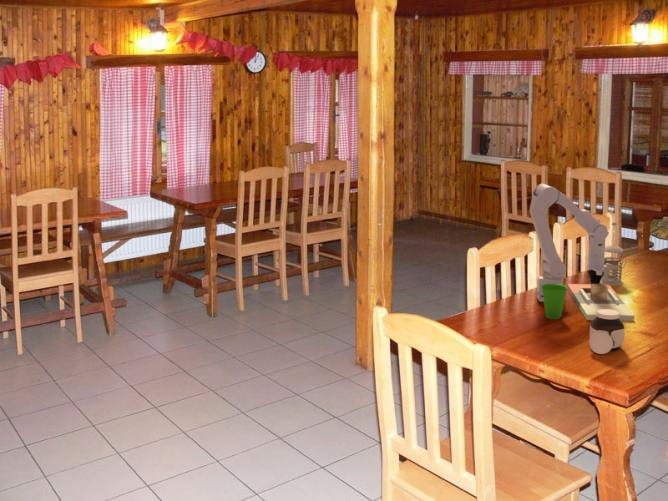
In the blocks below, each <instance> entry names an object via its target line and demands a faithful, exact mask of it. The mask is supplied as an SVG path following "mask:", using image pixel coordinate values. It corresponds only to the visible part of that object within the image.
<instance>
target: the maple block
mask: <svg viewBox="0 0 668 501" xmlns="http://www.w3.org/2000/svg"><path fill="white" fill-rule="evenodd" d="M590 284H591V283H590ZM607 293H608V287H607V286H606V285H605V284H601V283H600V284H591V298H592V300H600V301H607Z"/></svg>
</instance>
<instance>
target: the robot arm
mask: <svg viewBox="0 0 668 501" xmlns="http://www.w3.org/2000/svg"><path fill="white" fill-rule="evenodd" d="M553 204H558V205H561V206H562V208H564V209H565V210H567V211H568V212H569V213H570V214H571V215H572V216H573V217H574V222H575V223H576V224H578V225H579V226H580V227H581V228H582V229H584V230H585V231H586V232H587V235H588V236H589V242H588V243H589V244H588V259H587V260H588V261H587V268H588V270H586V271H587V274H588V277H589V281H590V283H589V284H601V283H600V281H601V278H602V277H603V275H604V272H603V269H604V268H607V266H606V265H604V258H605V254H606V252H605V247H606V240H607V239H606V238H608V236H609V232H610V231H608V227H607V225H605V224H602V223H600V222H601V220H600V219H599V218H596V217H594V215H592V211H591V210H588V209H580V208H579V207H578V206H577V205H576V204H575V203H574V202H573V201H572V200H571V199H570V198H568V196H567V195H566V194H564V193H563V192H561V191H560V190H558V188H556V187H554V186H550V185H548V184H546V183H540V184H537V185H536V187H535V188H534V189H533V191H532V192H531V201H530V204H529V214H530V217H531V220H532V224H533V227H534V230H535V233H536V236H537V240H538V244H539V246H540V249H541V252H542V255H541V260H542V263H541V268H542V270H543V271H544V274H543V276H542V275H541V276H538V277H537V279H536V280H537V282H536V283H537V284H536V297H537V300H538V302H541V303H544V298H543V289H542V288H541V286H542V285H545V284H561V285H564V276H565V275H566V272H567V267H566V264H564V262H563V261H562V258H561V256H560V255H559V253H558V251H557V249H556V248H557V247H556V245H555V242H554V239H553V236H552V232H551V229H550V226H549V222H548V220H547V216H546V212H547V210H548V209H549V208H550V207H551V206H552V205H553ZM565 301H566V299H565V300H564V303H565Z"/></svg>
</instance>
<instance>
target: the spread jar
mask: <svg viewBox="0 0 668 501" xmlns="http://www.w3.org/2000/svg"><path fill="white" fill-rule="evenodd" d="M619 317H620V313H619V312H618V311H616V310H611V309H600V310H598V311H597V317H595V318H594V319H593V320H591V321H590V325H589V342H588V344H589V346H590V347H589V348H590V349H591V350H592V351H593V352H594V353H596V354H598V355H605V354H607V353H609V352H615V351H617V350H619V349H621V347H622V346H623V345H624V342H625V333H626V331H625V330H626V328H625V324H624V321H621V320H620V319H619Z"/></svg>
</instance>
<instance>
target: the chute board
mask: <svg viewBox="0 0 668 501" xmlns="http://www.w3.org/2000/svg"><path fill="white" fill-rule="evenodd" d="M566 286H567V287H568V289H567V291H568V292H569V293H570V296H571V297H572V299H573V300H574V302H575V303H576V305H577V307H578V309H579V310H580V312H581V313H582V315H583V316H584V318H585V319H586V321H592V320H593V319H594V318H595V317H597V311H598V310H600V309H611V310H616V311H618V312H619V313H620V317H619V319H620V320H621V321H622V322H634V321H635V318H636V317H635V314H634V313H633V312H632V311H631V309H630V308H629V307H628V306H627V304H626V303H625V302H624V301H623V299H622V298H620V296H619V295H618V293H617V292H616V291H615V290H614V288H612V285H606V286H607V287H608V293H607V301H600V300H592V298H591V283H589V284H587V283H567V284H566Z"/></svg>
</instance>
